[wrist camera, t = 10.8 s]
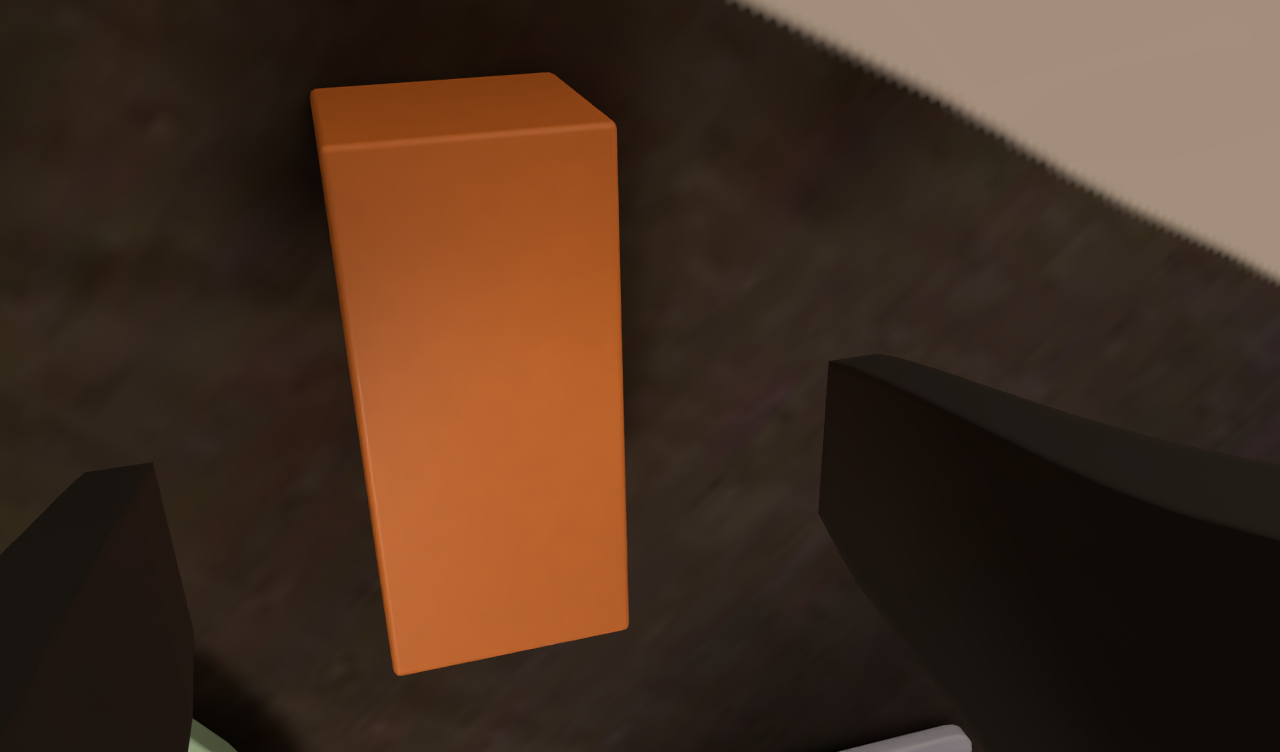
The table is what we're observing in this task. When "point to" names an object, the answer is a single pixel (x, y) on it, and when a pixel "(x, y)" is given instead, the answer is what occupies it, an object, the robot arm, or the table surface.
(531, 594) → the orange rectangular block
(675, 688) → the table surface
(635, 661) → the table surface
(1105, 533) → the robot arm
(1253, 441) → the table surface
